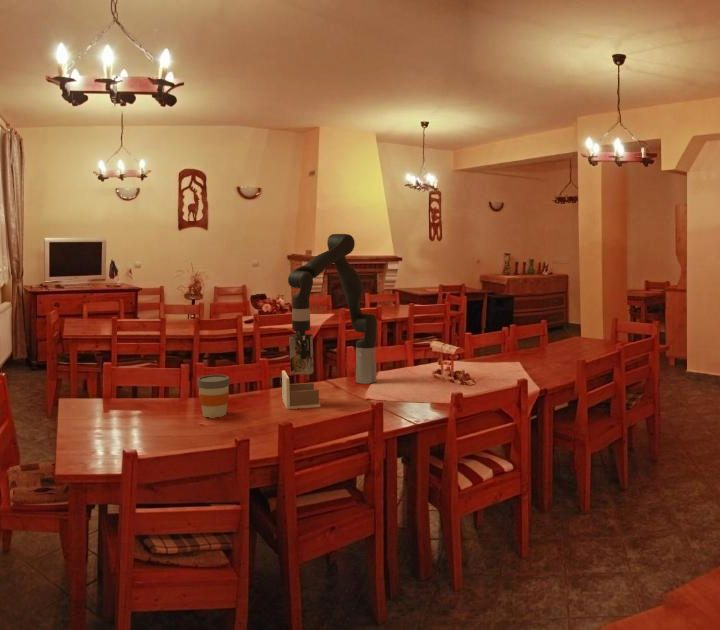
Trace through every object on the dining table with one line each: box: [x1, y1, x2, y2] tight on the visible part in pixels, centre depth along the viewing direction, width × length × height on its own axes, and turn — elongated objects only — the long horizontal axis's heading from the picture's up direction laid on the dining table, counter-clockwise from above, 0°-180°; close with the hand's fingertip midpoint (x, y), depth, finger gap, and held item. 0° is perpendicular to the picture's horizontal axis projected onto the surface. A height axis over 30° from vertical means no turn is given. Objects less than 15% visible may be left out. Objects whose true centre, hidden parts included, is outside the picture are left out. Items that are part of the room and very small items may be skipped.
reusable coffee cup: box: [196, 374, 231, 419], centre depth 253 cm, size 13×13×15 cm
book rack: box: [281, 370, 321, 410], centre depth 270 cm, size 14×15×13 cm
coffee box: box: [289, 333, 314, 375], centre depth 268 cm, size 9×6×16 cm
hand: (301, 357), depth 268 cm, fingers closed on coffee box, 7 cm apart
